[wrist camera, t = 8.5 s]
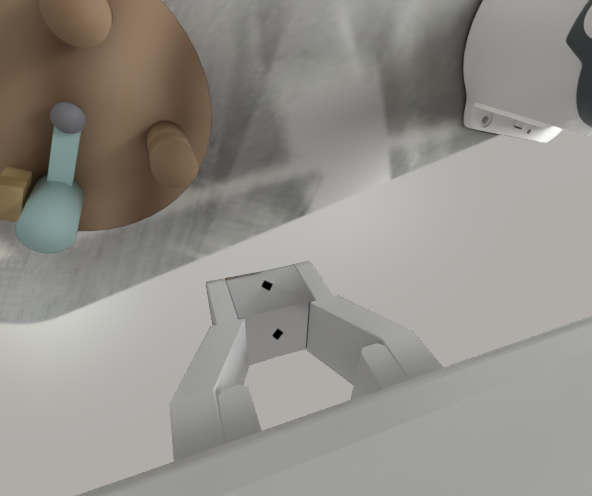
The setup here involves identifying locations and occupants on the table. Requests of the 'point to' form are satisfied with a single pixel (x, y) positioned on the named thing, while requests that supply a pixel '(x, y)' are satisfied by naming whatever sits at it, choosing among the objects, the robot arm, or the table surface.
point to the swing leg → (56, 188)
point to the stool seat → (102, 104)
